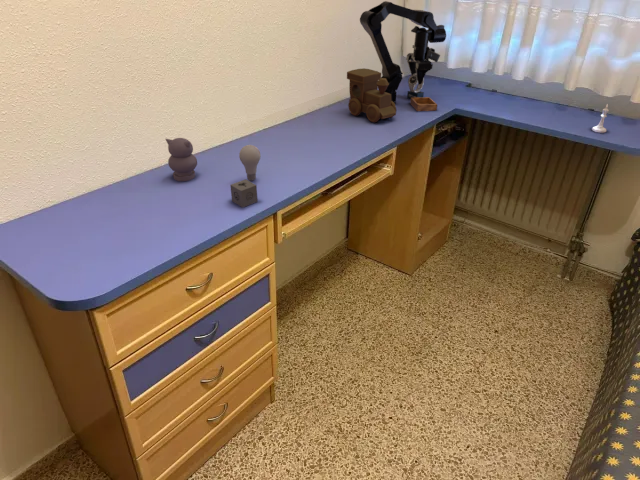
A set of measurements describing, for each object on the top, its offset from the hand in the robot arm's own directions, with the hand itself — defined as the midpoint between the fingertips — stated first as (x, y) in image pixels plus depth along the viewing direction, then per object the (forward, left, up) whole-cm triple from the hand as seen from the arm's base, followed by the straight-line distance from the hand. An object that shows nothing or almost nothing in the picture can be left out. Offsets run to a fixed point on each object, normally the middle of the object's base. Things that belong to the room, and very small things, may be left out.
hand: (416, 81), depth 212 cm
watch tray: (0, -12, -8) cm, 14 cm away
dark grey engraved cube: (-75, -90, -8) cm, 117 cm away
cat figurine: (-93, -72, -8) cm, 118 cm away
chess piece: (+58, -47, -8) cm, 75 cm away
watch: (0, 0, -8) cm, 8 cm away
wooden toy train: (-25, -22, -8) cm, 34 cm away
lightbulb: (-73, -77, -8) cm, 106 cm away
